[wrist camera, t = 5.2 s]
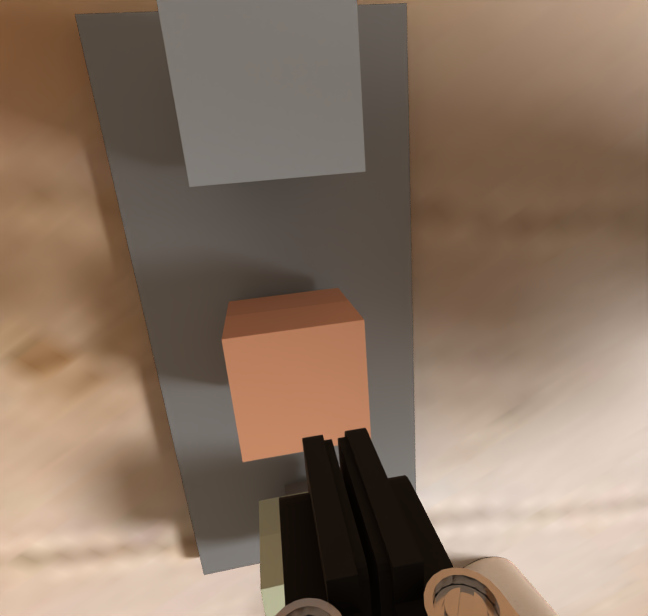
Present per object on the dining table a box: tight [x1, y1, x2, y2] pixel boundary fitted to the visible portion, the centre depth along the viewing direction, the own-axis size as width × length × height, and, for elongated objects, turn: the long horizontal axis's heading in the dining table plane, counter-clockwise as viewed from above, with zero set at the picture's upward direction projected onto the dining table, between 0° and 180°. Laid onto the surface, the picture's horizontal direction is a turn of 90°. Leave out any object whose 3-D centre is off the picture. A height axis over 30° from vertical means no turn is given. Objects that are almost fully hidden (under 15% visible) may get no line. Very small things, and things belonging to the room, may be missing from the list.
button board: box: [75, 3, 416, 575], centre depth 20 cm, size 13×28×3 cm, turn 6°
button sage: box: [259, 492, 308, 616], centre depth 19 cm, size 5×5×5 cm
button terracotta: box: [222, 288, 371, 462], centre depth 17 cm, size 5×5×5 cm
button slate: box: [157, 0, 365, 187], centre depth 13 cm, size 5×5×5 cm
